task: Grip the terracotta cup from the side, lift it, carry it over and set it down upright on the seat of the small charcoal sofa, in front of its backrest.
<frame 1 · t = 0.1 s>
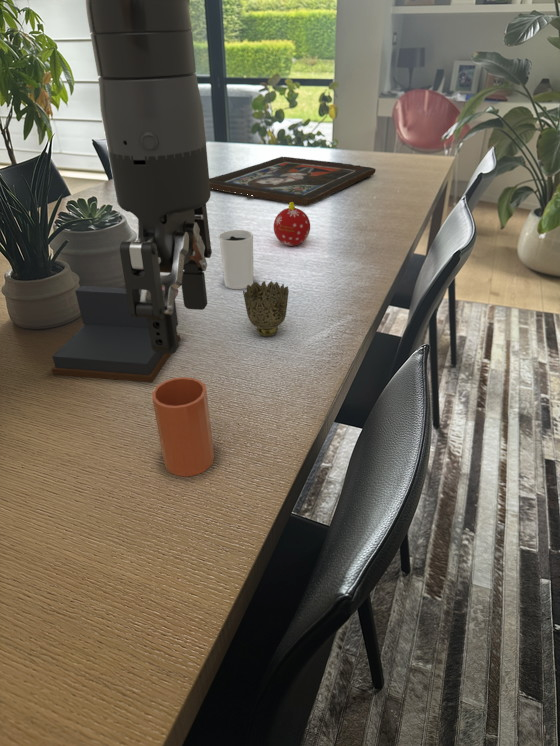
hand: (182, 328, 51), 21 cm above the table, tool pointing down, fingers open, 8 cm apart
cup: (189, 459, 67), on the table
cup 2: (267, 333, 94), on the table
christmas ornament: (292, 245, 131), on the table
sofa: (119, 356, 88), on the table
white cylindrical container: (239, 284, 112), on the table
religious icon: (290, 184, 180), on the table
video game controller: (154, 315, 101), on the table
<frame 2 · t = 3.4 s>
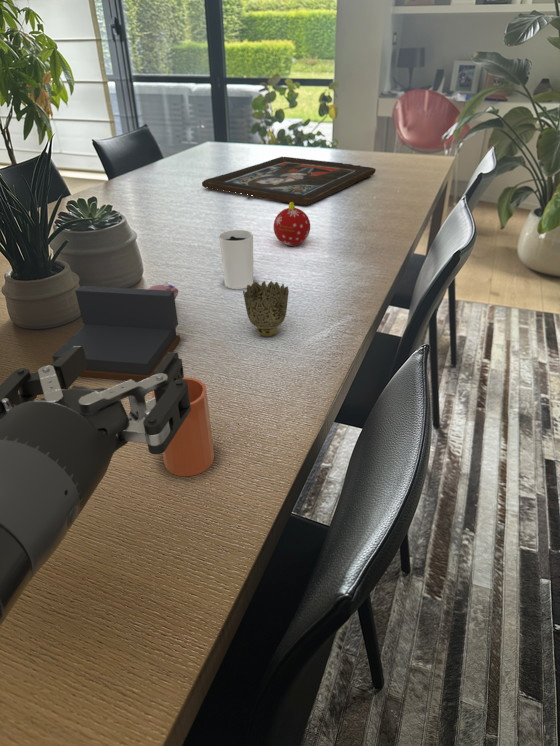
hand: (127, 358, 47), 21 cm above the table, tool horizontal, fingers open, 8 cm apart
nothing on the table moved.
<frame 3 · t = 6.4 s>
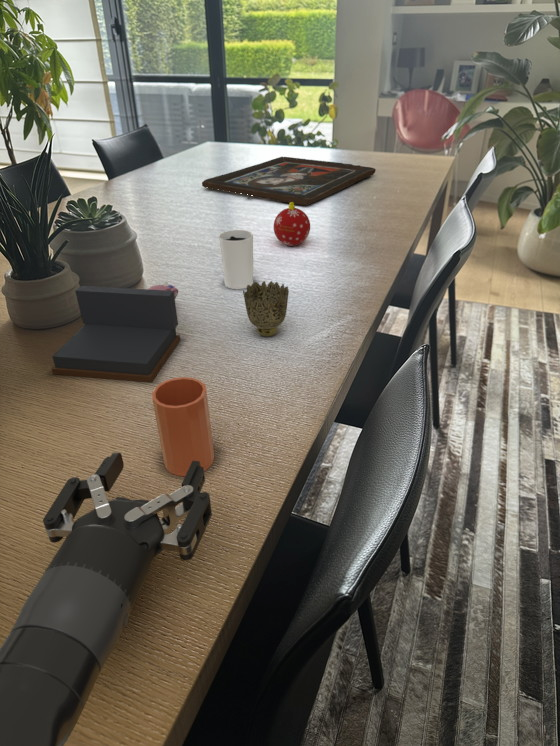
hand: (157, 462, 57), 7 cm above the table, tool horizontal, fingers open, 8 cm apart
nothing on the table moved.
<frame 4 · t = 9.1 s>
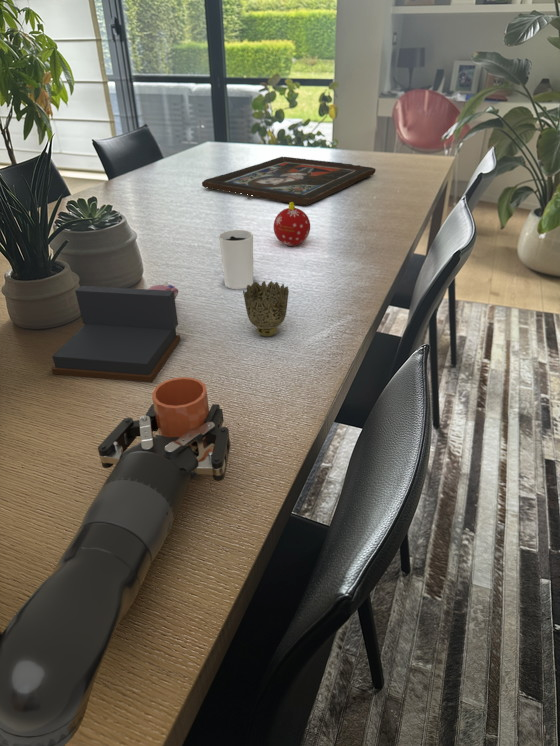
hand: (189, 407, 66), 6 cm above the table, tool horizontal, fingers closed on cup, 6 cm apart
cup: (189, 459, 67), on the table, touching gripper
everything else where it was.
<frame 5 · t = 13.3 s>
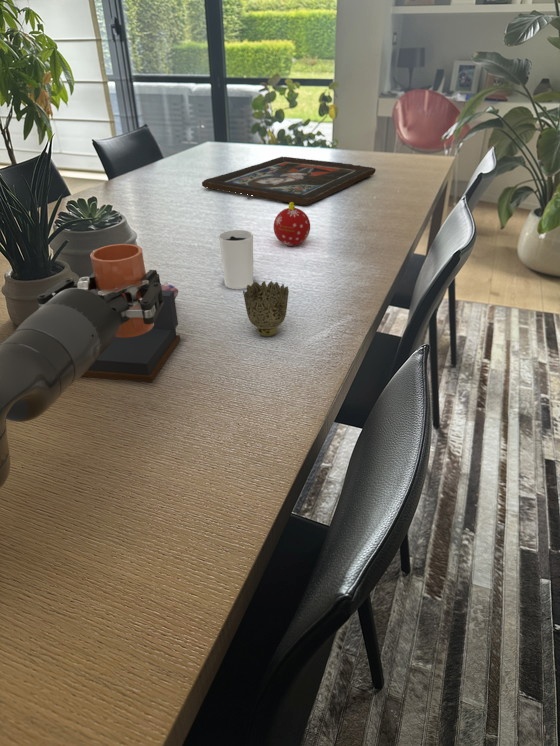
hand: (129, 275, 70), 18 cm above the table, tool horizontal, fingers closed on cup, 6 cm apart
cup: (130, 326, 71), point 12 cm above the table, touching gripper
everything else where it was.
when the fingers open (9 cm above the table, at t = 17.9 s): cup stays where it is, resting on sofa.
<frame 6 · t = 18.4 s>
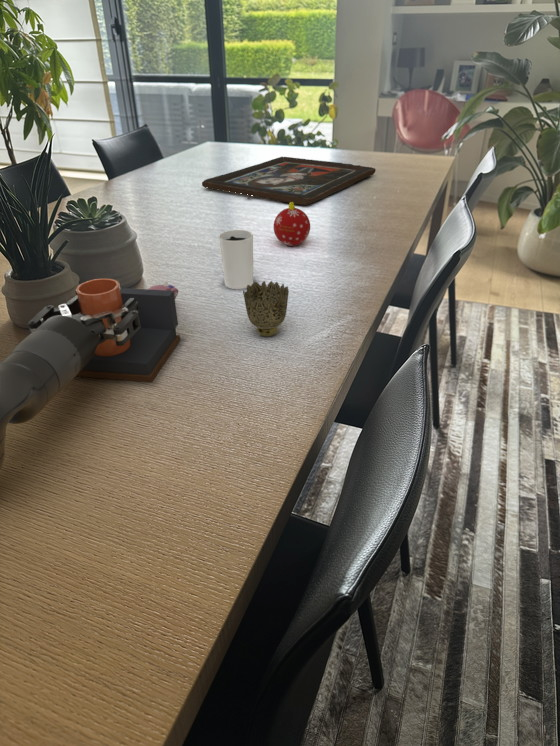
hand: (108, 302, 83), 10 cm above the table, tool horizontal, fingers open, 8 cm apart
cup: (110, 346, 85), point 3 cm above the table, touching sofa
everything else where it was.
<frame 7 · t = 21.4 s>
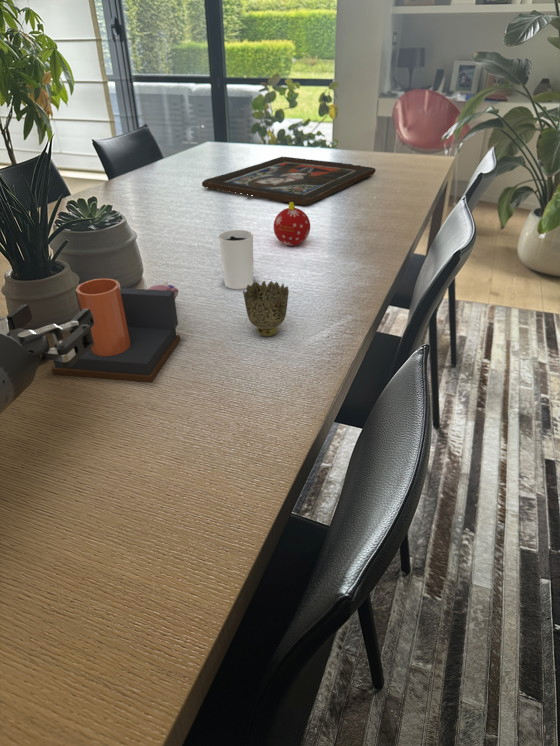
hand: (58, 313, 70), 14 cm above the table, tool horizontal, fingers open, 8 cm apart
nothing on the table moved.
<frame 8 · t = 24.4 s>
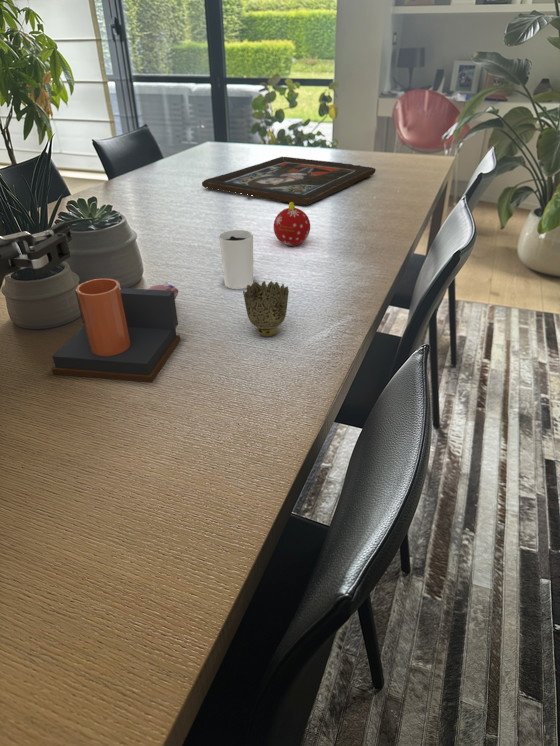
hand: (33, 229, 64), 25 cm above the table, tool horizontal, fingers open, 8 cm apart
nothing on the table moved.
at the end: cup inside the target area on the sofa (0.9 cm from its centre), point 3.0 cm above the sofa's base; cup tilted 0° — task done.
